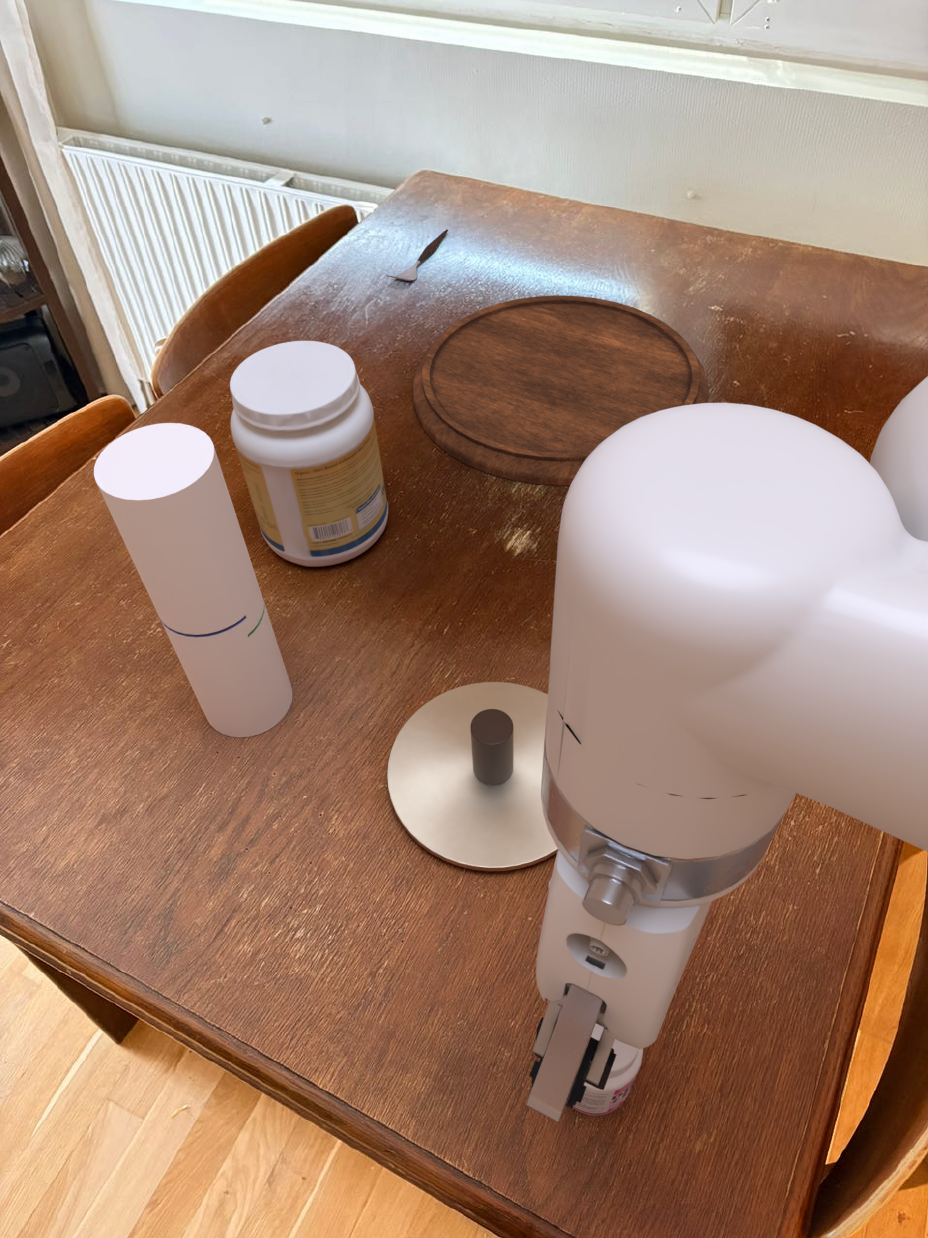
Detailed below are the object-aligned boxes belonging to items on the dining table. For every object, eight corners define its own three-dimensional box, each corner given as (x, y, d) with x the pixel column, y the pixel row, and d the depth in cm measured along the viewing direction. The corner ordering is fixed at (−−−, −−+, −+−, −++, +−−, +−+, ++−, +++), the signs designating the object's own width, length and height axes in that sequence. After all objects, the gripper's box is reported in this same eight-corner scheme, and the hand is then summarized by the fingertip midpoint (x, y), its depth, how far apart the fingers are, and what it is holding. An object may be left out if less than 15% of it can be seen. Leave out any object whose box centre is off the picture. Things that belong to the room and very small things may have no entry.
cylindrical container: (187, 699, 73) (72, 460, 54) (260, 651, 76) (175, 408, 57) (236, 753, 69) (130, 518, 50) (310, 700, 72) (237, 459, 53)
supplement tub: (403, 490, 88) (385, 339, 76) (370, 580, 81) (343, 428, 68) (287, 477, 90) (249, 328, 78) (243, 563, 83) (194, 413, 70)
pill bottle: (621, 1130, 52) (636, 1095, 45) (542, 1099, 53) (546, 1061, 47) (640, 1047, 55) (657, 1003, 48) (565, 1019, 56) (571, 973, 49)
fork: (456, 234, 122) (456, 220, 120) (404, 292, 113) (402, 278, 111) (439, 231, 123) (438, 217, 121) (386, 289, 113) (384, 274, 112)
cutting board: (637, 524, 84) (640, 504, 82) (356, 428, 95) (353, 408, 93) (748, 350, 101) (752, 330, 100) (499, 286, 113) (499, 267, 111)
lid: (629, 732, 69) (638, 680, 64) (550, 912, 60) (553, 869, 55) (447, 665, 74) (442, 612, 69) (349, 822, 65) (335, 775, 60)
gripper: (693, 1107, 22) (622, 1206, 35) (840, 624, 32) (742, 841, 45) (428, 972, 25) (453, 1112, 38) (640, 560, 34) (601, 784, 47)
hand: (610, 964), depth 41 cm, fingers open, 9 cm apart
